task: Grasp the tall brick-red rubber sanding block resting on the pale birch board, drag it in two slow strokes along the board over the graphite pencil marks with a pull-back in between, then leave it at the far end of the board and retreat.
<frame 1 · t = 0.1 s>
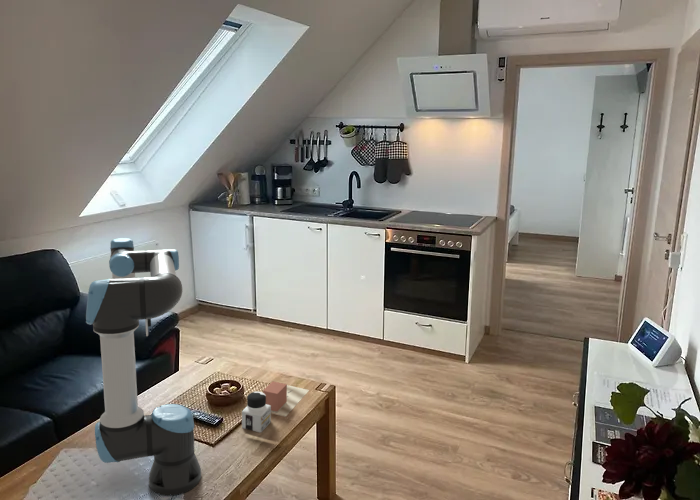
hand: (127, 336, 197), 28 cm above the table, fingers open, 13 cm apart
container: (256, 427, 193), on the table
board: (281, 401, 211), on the table
sanding block: (274, 406, 205), point 1 cm above the table, touching board
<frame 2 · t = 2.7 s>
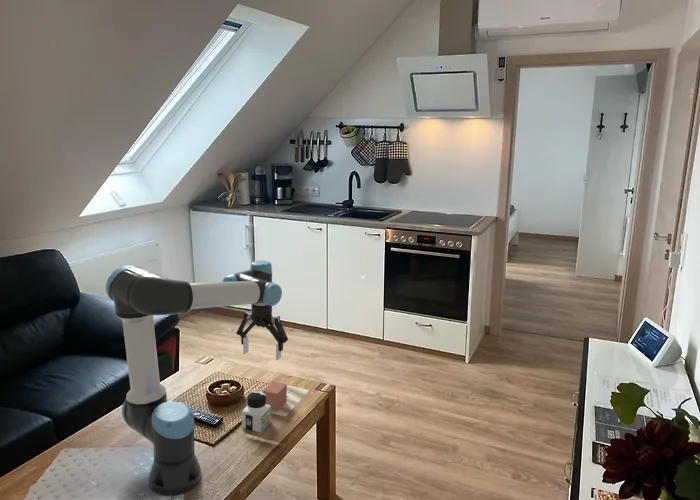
hand: (262, 355, 202), 21 cm above the table, fingers open, 13 cm apart
nothing on the table moved.
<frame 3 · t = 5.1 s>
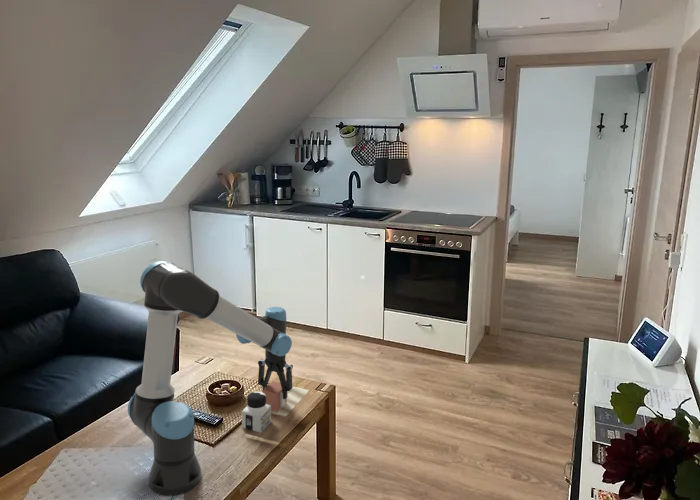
hand: (274, 403, 205), 2 cm above the table, fingers closed on sanding block, 6 cm apart
sanding block: (274, 406, 205), point 1 cm above the table, touching board, gripper
everything else where it was.
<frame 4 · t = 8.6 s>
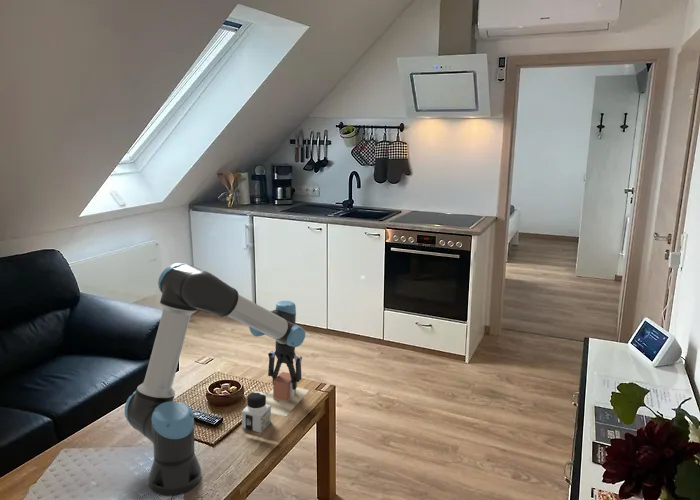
hand: (284, 394, 213), 2 cm above the table, fingers closed on sanding block, 6 cm apart
sanding block: (284, 395, 213), point 1 cm above the table, touching gripper
everything else where it was.
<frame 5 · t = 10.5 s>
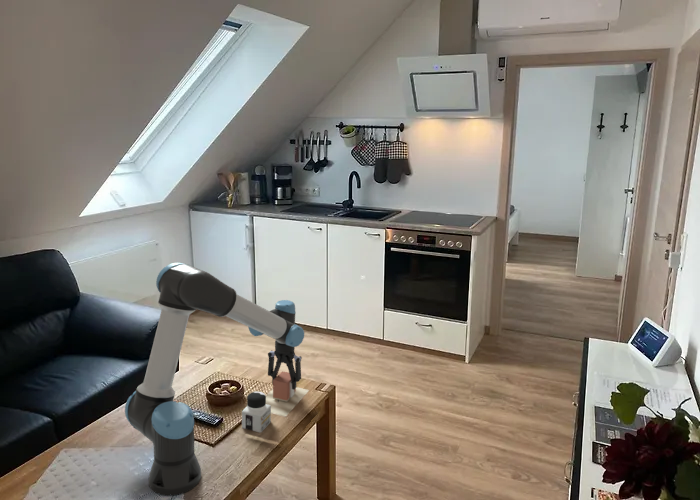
hand: (284, 394, 212), 2 cm above the table, fingers closed on sanding block, 6 cm apart
sanding block: (284, 395, 213), point 2 cm above the table, touching gripper
everything else where it was.
when the fingers open (2 cm above the table, at t = 12.3 s): sanding block stays where it is, resting on board.
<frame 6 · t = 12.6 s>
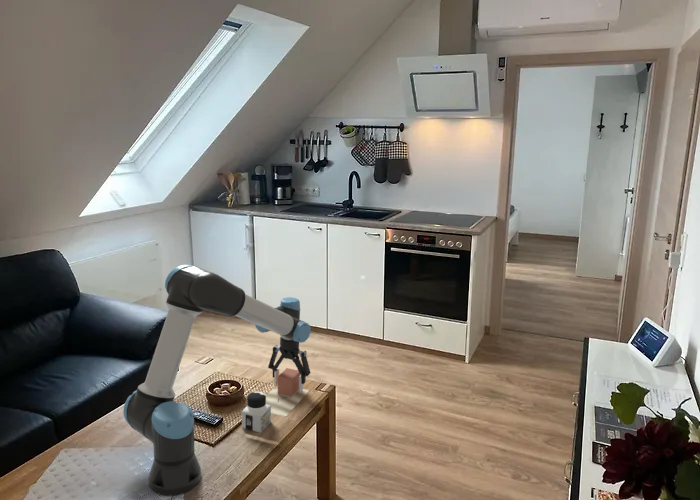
hand: (288, 387, 216), 3 cm above the table, fingers open, 10 cm apart
sanding block: (288, 391, 217), point 1 cm above the table, touching board
everything else where it was.
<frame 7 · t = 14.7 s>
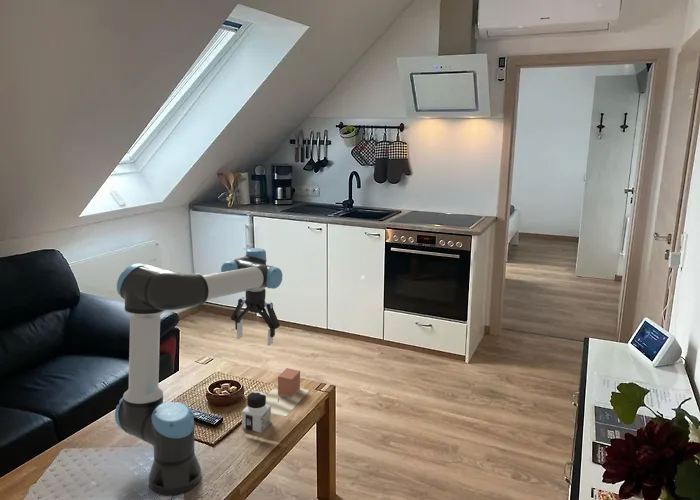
hand: (254, 341, 208), 24 cm above the table, fingers open, 13 cm apart
nothing on the table moved.
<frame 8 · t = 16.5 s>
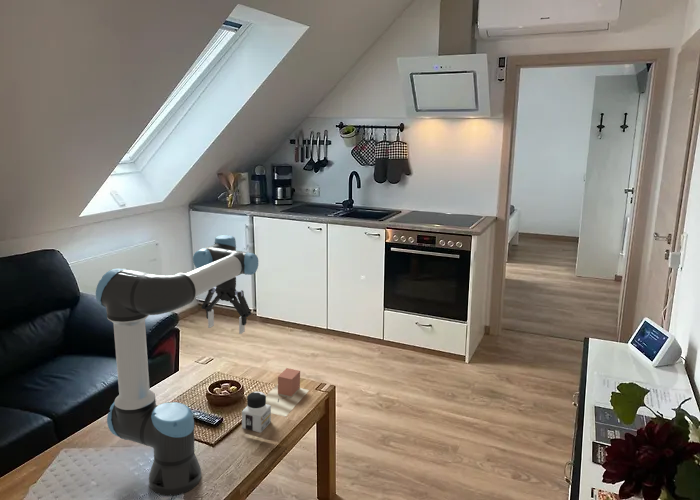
hand: (226, 329, 205), 29 cm above the table, fingers open, 13 cm apart
nothing on the table moved.
at the end: sanding block inside the target area on the board (0.2 cm from its centre), point 1.0 cm above the board's base; sanding block moved 12.3 cm from its start; sanding block tilted 0° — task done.
